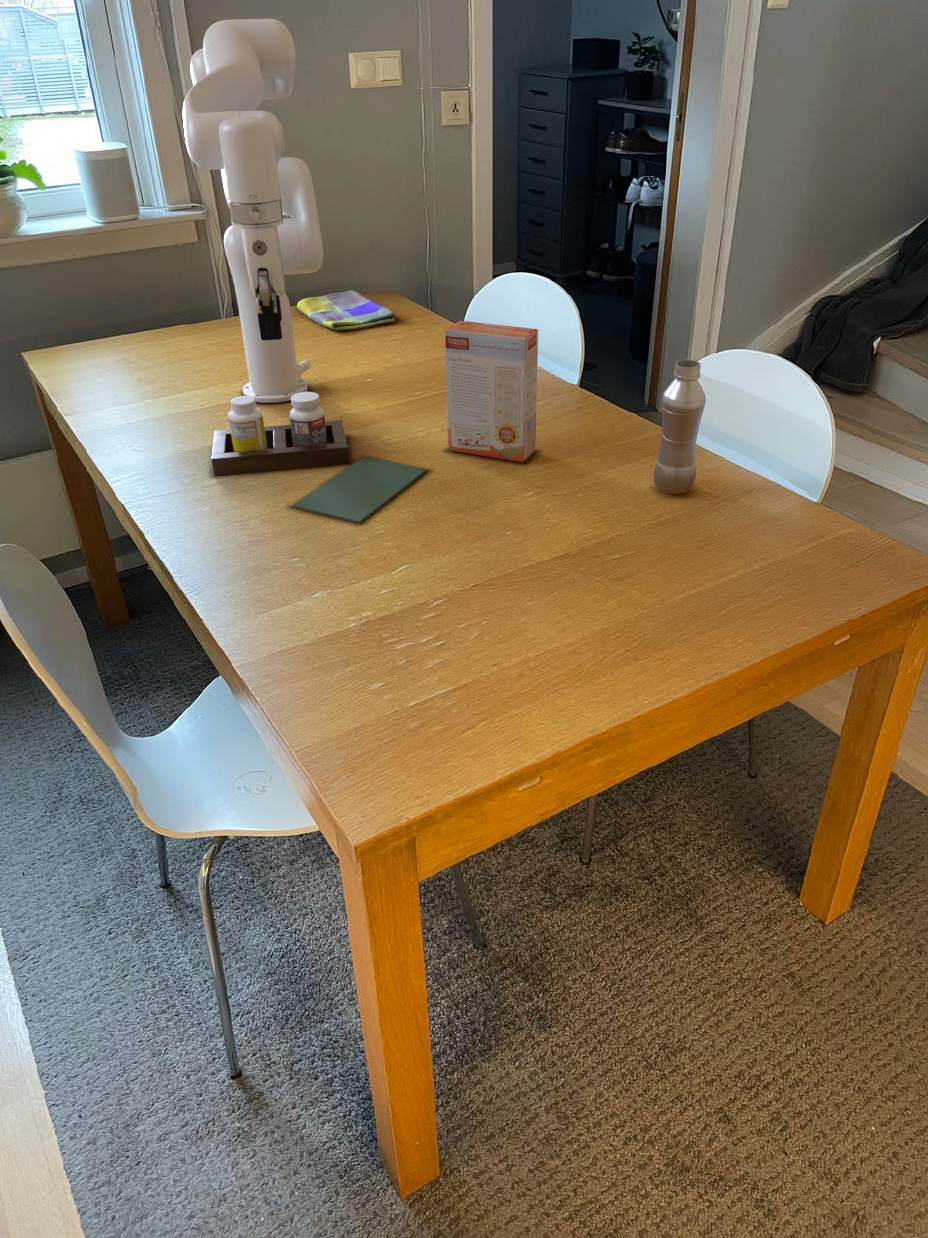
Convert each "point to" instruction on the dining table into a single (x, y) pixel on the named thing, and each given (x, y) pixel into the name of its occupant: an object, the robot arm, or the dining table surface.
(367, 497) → the mat
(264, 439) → the supplement bottle
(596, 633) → the dining table surface
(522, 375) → the cracker box
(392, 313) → the dish towel
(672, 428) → the plastic bottle
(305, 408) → the pill bottle
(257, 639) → the dining table surface
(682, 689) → the dining table surface
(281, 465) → the rack
